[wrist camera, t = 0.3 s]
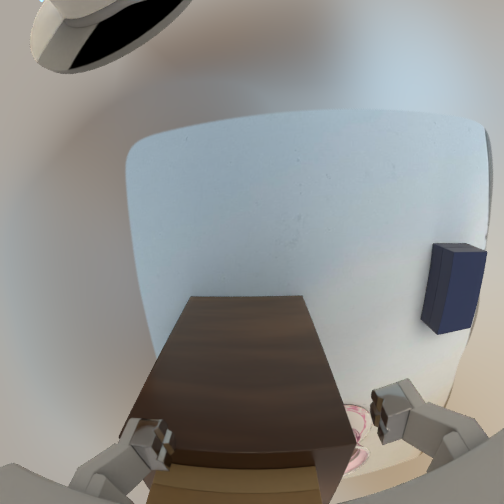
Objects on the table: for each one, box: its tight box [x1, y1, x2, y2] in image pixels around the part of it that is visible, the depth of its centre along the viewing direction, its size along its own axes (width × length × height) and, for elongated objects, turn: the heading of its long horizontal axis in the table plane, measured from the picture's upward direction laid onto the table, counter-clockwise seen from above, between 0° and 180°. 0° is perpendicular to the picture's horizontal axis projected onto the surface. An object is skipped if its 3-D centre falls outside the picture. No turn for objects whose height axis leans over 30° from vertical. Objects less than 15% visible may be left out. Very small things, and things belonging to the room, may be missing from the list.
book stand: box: [119, 296, 357, 504], centre depth 20 cm, size 14×11×18 cm
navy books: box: [421, 243, 487, 335], centre depth 25 cm, size 9×6×4 cm, turn 1°
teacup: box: [343, 405, 372, 476], centre depth 29 cm, size 12×12×6 cm
